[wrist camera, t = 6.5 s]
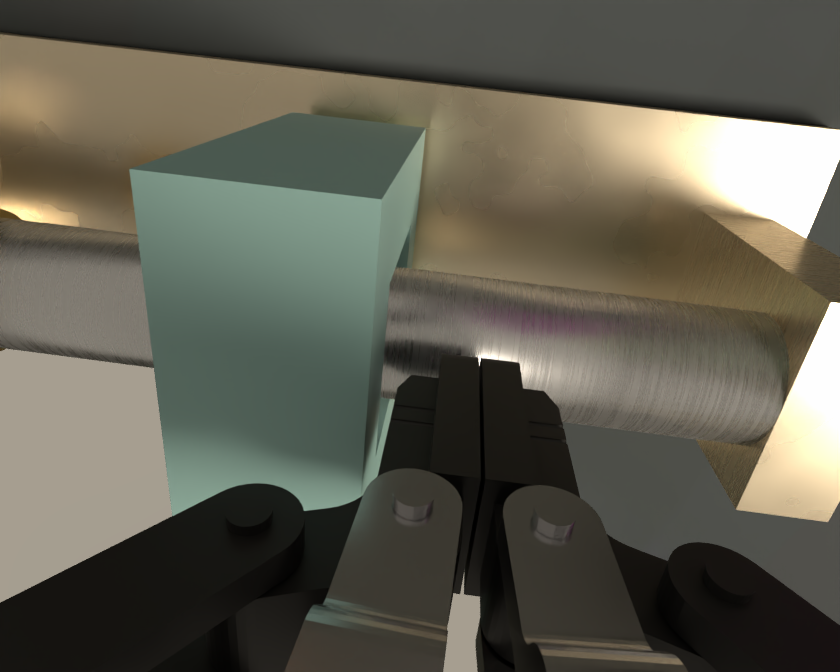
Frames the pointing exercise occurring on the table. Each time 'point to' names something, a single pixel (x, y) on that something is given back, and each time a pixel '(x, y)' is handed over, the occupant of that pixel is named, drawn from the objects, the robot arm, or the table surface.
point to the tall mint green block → (276, 302)
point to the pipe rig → (478, 244)
